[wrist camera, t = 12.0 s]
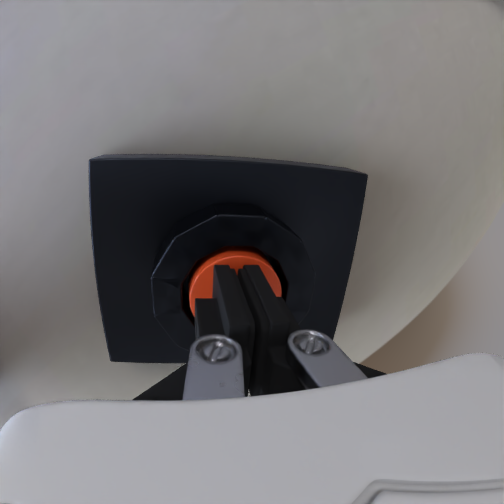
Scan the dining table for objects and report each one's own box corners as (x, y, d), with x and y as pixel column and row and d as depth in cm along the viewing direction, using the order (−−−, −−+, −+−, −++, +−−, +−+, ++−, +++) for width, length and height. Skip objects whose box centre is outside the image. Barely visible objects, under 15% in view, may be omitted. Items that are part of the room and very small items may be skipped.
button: (275, 240, 13) (287, 256, 12) (265, 312, 15) (275, 334, 13) (188, 239, 13) (189, 255, 11) (188, 314, 14) (189, 337, 12)
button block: (346, 167, 15) (391, 181, 12) (315, 331, 19) (342, 373, 15) (102, 154, 13) (73, 164, 9) (116, 337, 16) (104, 386, 13)
